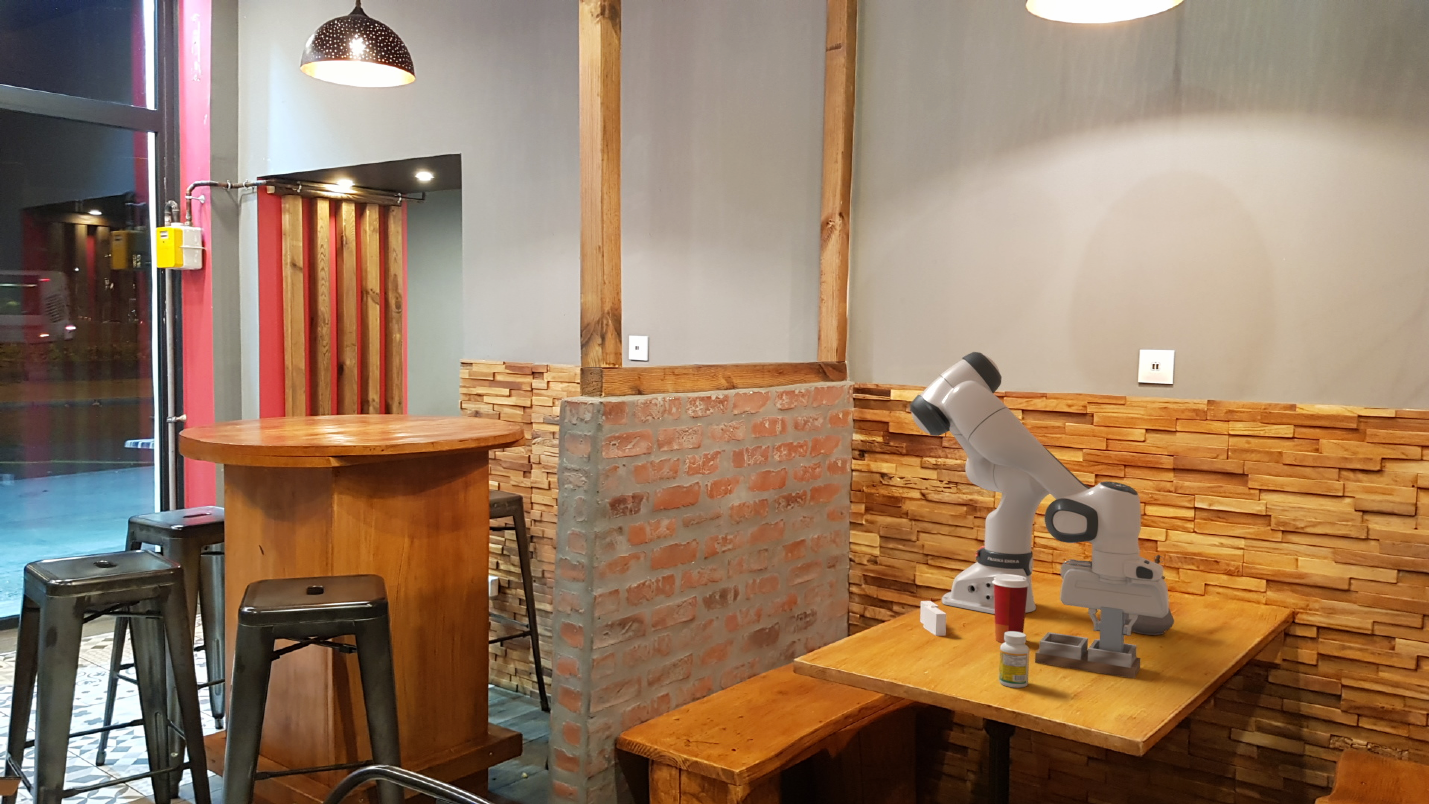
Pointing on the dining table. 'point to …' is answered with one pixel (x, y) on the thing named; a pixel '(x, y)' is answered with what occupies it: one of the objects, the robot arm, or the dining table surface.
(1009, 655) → the supplement bottle
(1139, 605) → the robot arm
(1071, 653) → the two-compartment tray
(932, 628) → the white notched slab
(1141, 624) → the coffee pot
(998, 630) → the paper cup
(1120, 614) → the gray rectangular block
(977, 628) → the dining table surface
